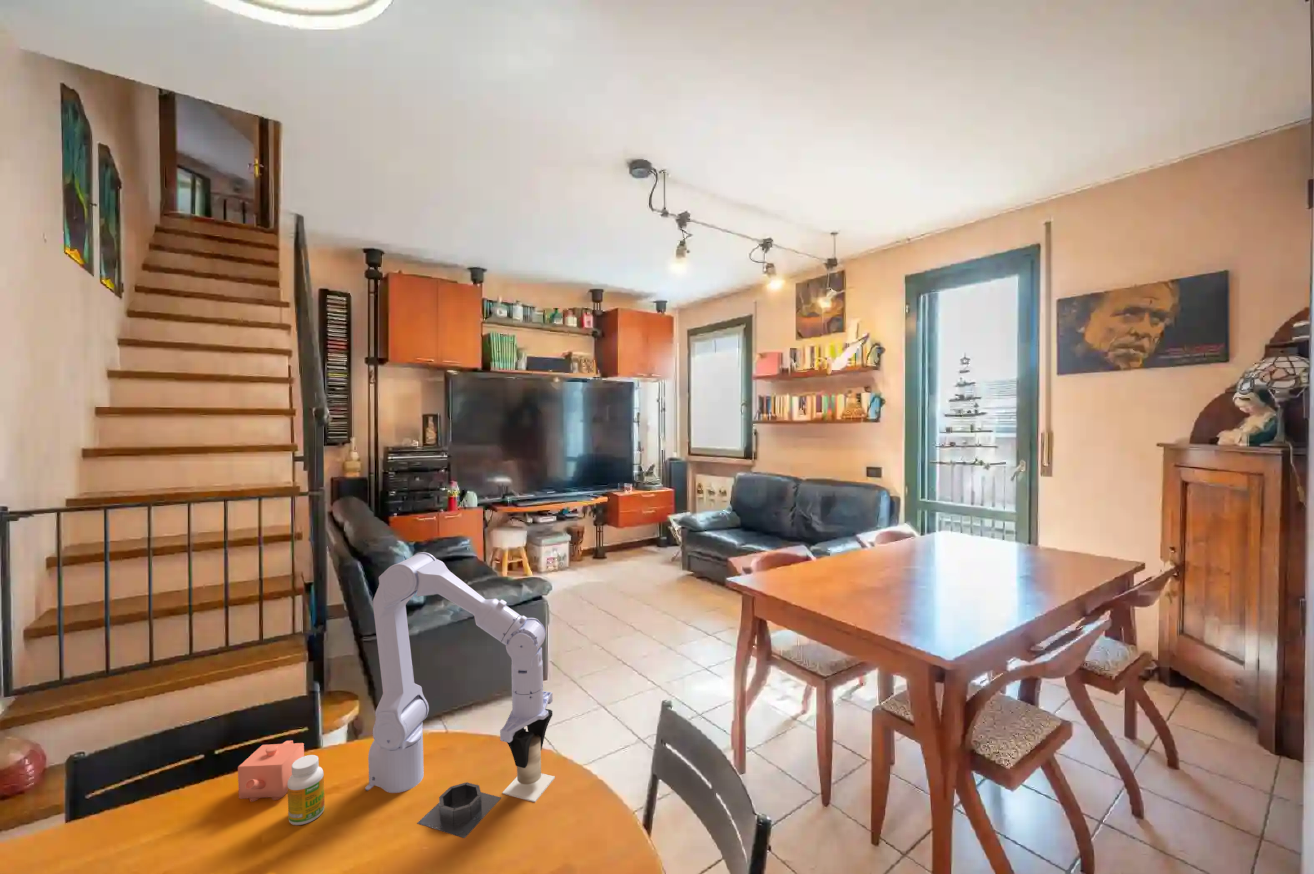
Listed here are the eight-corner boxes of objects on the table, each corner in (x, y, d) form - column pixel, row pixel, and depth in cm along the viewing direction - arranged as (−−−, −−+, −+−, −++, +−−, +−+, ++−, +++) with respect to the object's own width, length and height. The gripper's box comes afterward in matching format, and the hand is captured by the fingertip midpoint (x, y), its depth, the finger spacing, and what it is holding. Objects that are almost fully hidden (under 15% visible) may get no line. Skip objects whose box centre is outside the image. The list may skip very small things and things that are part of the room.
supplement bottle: (307, 828, 92) (305, 773, 92) (280, 823, 93) (278, 769, 93) (331, 806, 98) (330, 753, 97) (306, 802, 99) (305, 750, 98)
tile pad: (502, 797, 99) (502, 792, 99) (524, 773, 106) (523, 768, 106) (535, 806, 97) (535, 800, 97) (555, 781, 104) (555, 776, 103)
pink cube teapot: (226, 817, 95) (224, 772, 95) (270, 772, 107) (269, 732, 107) (272, 814, 96) (270, 769, 95) (311, 770, 108) (309, 730, 107)
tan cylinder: (512, 781, 100) (511, 744, 100) (525, 766, 104) (525, 731, 104) (532, 786, 99) (532, 749, 98) (545, 771, 103) (544, 735, 102)
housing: (417, 827, 92) (416, 808, 92) (457, 789, 102) (456, 772, 101) (464, 842, 89) (464, 823, 89) (501, 801, 98) (501, 784, 98)
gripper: (523, 710, 93) (525, 787, 93) (565, 672, 106) (566, 739, 107) (489, 703, 95) (491, 778, 95) (534, 667, 109) (535, 733, 109)
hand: (528, 757), depth 101 cm, fingers closed on tan cylinder, 4 cm apart
